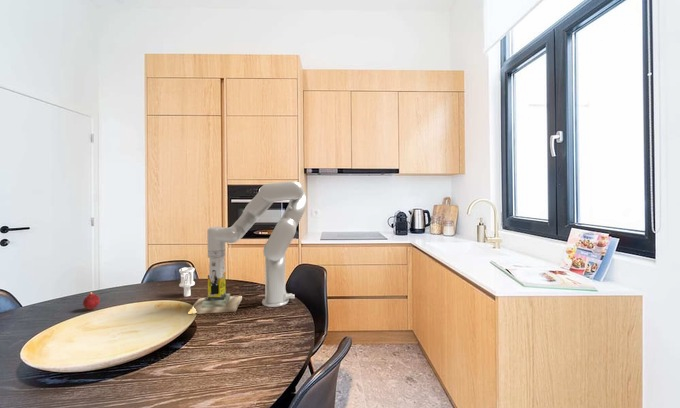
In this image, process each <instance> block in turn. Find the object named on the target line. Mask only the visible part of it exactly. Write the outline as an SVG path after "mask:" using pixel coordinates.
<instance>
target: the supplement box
mask: <svg viewBox="0 0 680 408" xmlns="http://www.w3.org/2000/svg"><path fill="white" fill-rule="evenodd" d="M215 278H217V277H215ZM215 281H216V280H215ZM218 285H219V293H218V294H211V279H210V277H209V274H208V275H207V296H208V299H220V298H221V297H223V296H224V295H225V294H227V293H226V271H225V272H224V273H223V277H222V278H221V279H219V278H218Z"/></svg>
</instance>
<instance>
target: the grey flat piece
mask: <svg viewBox="0 0 680 408" xmlns="http://www.w3.org/2000/svg"><path fill="white" fill-rule="evenodd" d="M242 299H243V296H242V295H234V296H232V295H231V293H226V294H225V295H224V296H223V297H221V298H220V299H208V295H206V297H200V298H198V299H197V300H196V301H195V302H194V303H193V305H192V306H194V308H195V309H196V311H197V314H196V315H198V314H199V315H202V314H213V313H215V314H216V313H229V312H230V313H231V312H237V310H238V307H239V306H240V304H241V302H242Z"/></svg>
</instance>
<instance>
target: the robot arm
mask: <svg viewBox="0 0 680 408" xmlns="http://www.w3.org/2000/svg"><path fill="white" fill-rule="evenodd" d="M283 201H289V202H288V205H287V207H286V209H285V210H284V213H283V215H282V216H281V218H280V219H279V221H277V223H276V225H275V227H274V229H273V230H272V232H271V233H270V236H269V238H268V240H267V241H266V242H265V244H264V247H263V255H264V257H265V261H264V263H265V266H264V267H265V268H264V275H265V276H264V279H265V280H264V281H265V283H264V284H265V289H264V291H265V293H264V294H265V298H263V299H262V301H261V304H262V306H264V307H269V308H276V307H283V306H285V305H287V304H288V303H289V301H290V300H289V299H295V298H296V297H295V293H294V294H293V293H288V292H287V290H286V252H287V251H288V248H289V246H290V245H291V243H292V241H293V239H294V237H295V235H296V233H297V227H298V226H299V224H300V221H301V219H302V217H303V215H304V213H305V211H306V208H307V202H308V201H307V195H306V192H305V190H304V187H303V185H302V184H301V183H300V182H298V181H296V180H295V181H294V180H291V181H281V182H270V183H265V184H263V185H262V186H260V188H259V191H258V192H257V193H256V195H255V196H253V198H252V199H251V200H250V201H249V202H248V203H247V204H246V205H245V208H244V209H243V212H242V213H241V214H240V216H239V217H238V219H237V220H236V221H234V223H233V224H232V225H231V226H230V227H222V226H213V227H209V228H208V229H207V258H209V261H208V262H209V265H208V266H209V267H208V268H209V269H208V271H209V272H208V273H209V274H208V275H209V277H210V279H211V294H218V293H219V285H218V278H219V279H221V278H222V277H223V273H224V272H225V273H226V265H225V264H226V263H225V257H226V243H227V244H235V243H237V242H238V241H240V240H241V239H242V238H243V237H244V236H245V235H246V233H248V231H249V230H250V229H251V228H252V227H253V225H255V223H256V222H257V221H259V220H260V219H261V217H262V216H263V215H264V214H265V213H266V212H267V211H268V209H269V208H271V206H272V205H273V204H274V203H275V202H283ZM215 277H217V278H215ZM215 280H216V281H215Z"/></svg>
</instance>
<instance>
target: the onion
mask: <svg viewBox="0 0 680 408" xmlns="http://www.w3.org/2000/svg"><path fill="white" fill-rule="evenodd" d="M100 303H101V299H100V297H99V296H98V295H97V294H95V293H93V292H92V291H91V292H89V294H88V295H87V296H86V297H85V298H84V299H83V301H82V305H83V307H84V308H86V310H89V311H93V310H94V309H95V308H97V307H98V306H99V304H100Z"/></svg>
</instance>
